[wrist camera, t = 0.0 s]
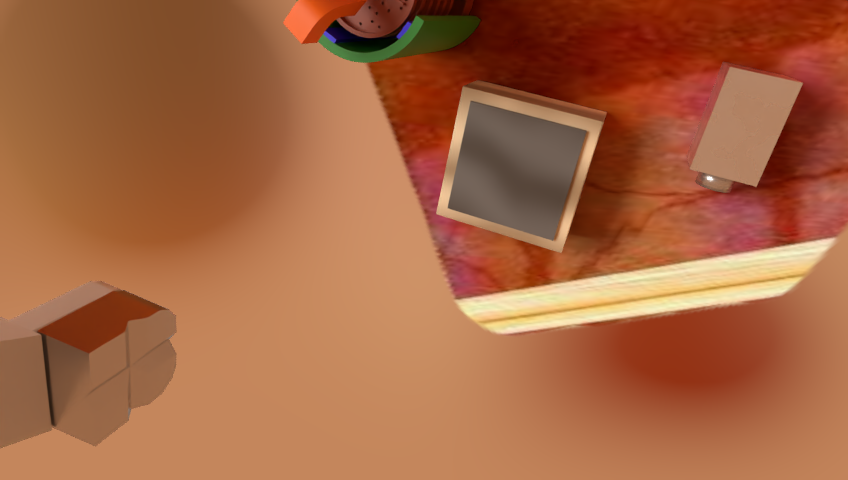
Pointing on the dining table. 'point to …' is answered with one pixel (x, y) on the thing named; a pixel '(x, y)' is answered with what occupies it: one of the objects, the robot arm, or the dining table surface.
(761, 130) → the block
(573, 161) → the stand
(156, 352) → the robot arm
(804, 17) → the dining table surface
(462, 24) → the motor
